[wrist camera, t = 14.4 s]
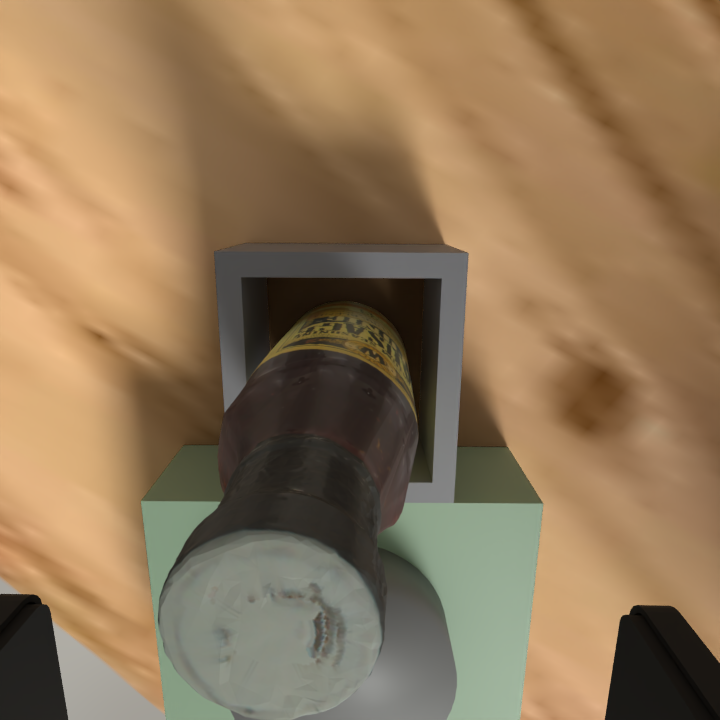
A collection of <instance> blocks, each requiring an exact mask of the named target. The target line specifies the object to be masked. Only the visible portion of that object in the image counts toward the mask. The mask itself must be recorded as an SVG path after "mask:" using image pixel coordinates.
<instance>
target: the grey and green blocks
mask: <svg viewBox="0 0 720 720" xmlns="http://www.w3.org/2000/svg"><path fill="white" fill-rule="evenodd" d="M214 258H215V274H216V289H217V304H218V320H219V335H220V351H221V366H222V381H223V397H224V412H226V410H227V409H228V408H229V406H230V405H231V404H232V403H233V401H234V400H235V399H236V397H237V396H238V395H239V393H240V392H241V391H242V389H243V388H244V387H245V385H246V383H247V381H248V380H249V378H250V377H251V375H252V374H253V372H254V371H255V370H256V368H257V367H258V366H259V365H260V363H261V362H262V361H263V360H264V358H265V357H266V356H267V355H268V354H269V352H270V340H269V315H268V290H267V277H288V278H424V293H423V320H422V347H421V374H420V400H419V427H418V433H419V435H418V444H417V448H416V452H415V457H414V462H413V466H412V471H411V475H410V480H409V484H408V489H407V494H406V498H405V503H404V507H403V511H402V513H401V515H400V517H399V519H398V520H397V522H396V523H395V524H394V525H393V526H391V527H389V528H387V529H385V530H384V531H383V532H381V533H380V534H379V535H378V536H377V540H378V542H377V547H378V553H379V555H380V557H381V560H382V562H383V565H384V571H385V579H386V584H387V604H386V614H385V632H384V642H383V645H382V649H381V652H380V655H379V657H378V659H377V661H376V663H375V665H374V667H373V670H372V673H371V675H370V676H369V677H368V678H367V679H366V681H365V682H364V683H363V684H362V685H361V686H360V687H359V688H358V689H357V691H356V692H354V693H353V694H352V695H351V696H350V697H349V698H347V699H346V700H345V701H343V702H342V703H340V704H339V705H337V706H336V707H334V708H332V709H329V710H327V711H324V712H321V713H317V714H313V715H304V716H301V717H298V718H295V719H292V720H520V714H521V705H522V696H523V686H524V677H525V668H526V659H527V649H528V640H529V631H530V622H531V612H532V603H533V594H534V585H535V575H536V566H537V557H538V548H539V538H540V529H541V520H542V511H543V502H542V501H541V499H540V498H539V496H538V494H537V493H536V491H535V490H534V488H533V487H532V485H531V483H530V482H529V480H528V479H527V477H526V475H525V474H524V472H523V471H522V469H521V467H520V466H519V464H518V463H517V461H516V459H515V458H514V456H513V455H512V453H511V451H510V450H509V448H508V447H457V441H458V424H459V407H460V390H461V373H462V355H463V338H464V321H465V304H466V287H467V270H468V253H467V252H464V251H462V250H459V249H456V248H454V247H451V246H448V245H446V244H310V243H244V244H240V245H237V246H233V247H229V248H225V249H222V250H218V251H214ZM218 446H219V445H183V447H182V448H181V449H180V451H179V452H178V453H177V455H176V456H175V457H174V458H173V460H172V461H171V462H170V464H169V465H168V466H167V468H166V469H165V470H164V472H163V473H162V474H161V476H160V477H159V478H158V479H157V481H156V482H155V483H154V485H153V486H152V487H151V489H150V490H149V491H148V493H147V494H146V495H145V497H144V498H143V499H142V500H141V506H142V515H143V524H144V532H145V541H146V550H147V559H148V567H149V576H150V585H151V594H152V602H153V611H154V620H155V629H156V637H157V646H158V655H159V664H160V672H161V681H162V690H163V698H164V707H165V716H166V720H260V719H255V718H249V717H244V716H242V715H240V714H239V713H237V712H234V711H232V710H229V709H227V708H224V707H222V706H220V705H218V704H216V703H214V702H211V701H209V700H207V699H205V698H203V697H202V696H201V695H200V694H198V693H197V692H196V691H195V690H194V689H193V688H192V687H191V686H190V685H189V684H188V683H187V682H186V681H185V680H184V679H183V678H182V677H181V676H180V675H179V674H178V673H177V672H176V670H175V669H174V667H173V664H172V662H171V661H170V660H169V658H168V657H167V656H166V654H165V652H164V647H163V640H162V638H161V635H160V632H159V627H158V607H159V598H160V594H161V591H162V588H163V585H164V582H165V580H166V578H167V576H168V573H169V571H170V570H171V568H172V567H173V565H174V563H175V561H176V558H177V557H178V555H179V553H180V552H181V550H182V548H183V546H184V544H185V542H186V540H187V539H188V537H189V536H190V535H191V533H192V532H193V530H194V529H195V528H196V527H197V526H198V525H199V524H200V523H201V522H202V521H203V520H204V519H205V518H206V517H207V516H209V515H210V514H211V513H213V512H214V511H215V510H216V509H217V508H218V505H219V504H220V502H221V500H222V499H223V497H224V493H223V491H222V487H221V483H220V477H219V470H218V458H217V455H218Z"/></svg>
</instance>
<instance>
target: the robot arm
mask: <svg viewBox="0 0 720 720" xmlns="http://www.w3.org/2000/svg"><path fill="white" fill-rule="evenodd" d="M0 720H68V715H67V709H66V703H65V697H64V691H63V685H62V679H61V673H60V667H59V661H58V655H57V649H56V642H55V636H54V631H53V624H52V618H51V612H50V609H49V607H48V606H47V605H44V604H42V602H41V599H40V598H39V597H38V596H37V595H29V594H0ZM605 720H720V663H719V662H718V661H717V659H716V658H715V657H714V656H713V654H712V653H711V652H710V650H709V649H708V648H707V647H706V645H705V644H704V643H703V642H702V640H701V639H700V638H699V637H698V635H697V634H696V633H695V631H694V630H693V629H692V628H691V626H690V625H689V624H688V623H687V621H686V620H685V619H684V617H683V616H682V615H681V614H680V612H679V611H678V610H677V609H675V608H674V607H672V606H647V605H636V606H633V608H632V609H631V611H630V615H623V616H622V617H621V620H620V624H619V631H618V637H617V644H616V650H615V657H614V663H613V670H612V677H611V683H610V690H609V696H608V703H607V709H606V716H605Z"/></svg>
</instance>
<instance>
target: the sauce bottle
mask: <svg viewBox="0 0 720 720" xmlns="http://www.w3.org/2000/svg"><path fill="white" fill-rule="evenodd" d="M418 435H419V433H418V424H417V415H416V408H415V402H414V395H413V391H412V381H411V376H410V373H409V367H408V361H407V353H406V349H405V346H404V344H403V341H402V338H401V336H400V335H399V333H398V331H397V330H396V328H395V327H394V326H393V324H392V323H391V322H390V321H389V320H388V319H387V318H386V317H384V316H383V315H382V314H381V313H380V312H379V311H377V310H376V309H374V308H371V307H369V306H366V305H364V304H360V303H356V302H352V301H332V302H329V303H325V304H323V305H320V306H317V307H315V308H313V309H311V310H310V311H308V312H307V313H305V314H304V315H303V316H302V317H301V318H300V319H299V320H298V321H297V322H296V323H295V324H294V325H293V326H292V328H291V329H290V330H289V331H288V332H287V333H286V334H285V335H284V336H283V338H282V339H281V340H280V341H279V342H278V343H277V344H276V345H275V347H274V348H273V349H272V350H271V351H270V352H269V354H268V355H267V356H266V357H265V358H264V360H263V361H262V362H261V363H260V365H259V366H258V367H257V368H256V370H255V371H254V372H253V374H252V375H251V377H250V378H249V380H248V381H247V383H246V385H245V387H244V388H243V389H242V391H241V392H240V393H239V395H238V396H237V397H236V399H235V400H234V401H233V403H232V404H231V405H230V406H229V408H228V409H227V410H226V412H225V413H224V416H223V422H222V427H221V433H220V438H219V446H218V455H217V458H218V470H219V477H220V483H221V487H222V491H223V493H224V497H223V499H222V500H221V502H220V504H219V505H218V508H217V509H216V510H215V511H214V512H213V513H211V514H210V515H209V516H207V517H206V518H205V519H204V520H203V521H202V522H201V523H200V524H199V525H198V526H197V527H196V528H195V529H194V530H193V532H192V533H191V535H190V536H189V537H188V539H187V540H186V542H185V544H184V546H183V548H182V550H181V552H180V553H179V555H178V557H177V558H176V561H175V563H174V565H173V567H172V568H171V570H170V571H169V573H168V576H167V578H166V580H165V582H164V585H163V588H162V591H161V594H160V598H159V607H158V627H159V632H160V635H161V638H162V640H163V647H164V652H165V654H166V656H167V657H168V658H169V660H170V661H171V662H172V664H173V667H174V669H175V670H176V672H177V673H178V674H179V675H180V676H181V677H182V678H183V679H184V680H185V681H186V682H187V683H188V684H189V685H190V686H191V687H192V688H193V689H194V690H195V691H196V692H197V693H198V694H200V695H201V696H202V697H203V698H205V699H207V700H209V701H211V702H214V703H216V704H218V705H220V706H222V707H224V708H227V709H229V710H232V711H234V712H237V713H239V714H240V715H242V716H244V717H249V718H255V719H260V720H292V719H295V718H298V717H301V716H304V715H313V714H317V713H321V712H324V711H327V710H329V709H332V708H334V707H336V706H337V705H339V704H340V703H342V702H343V701H345V700H346V699H347V698H349V697H350V696H351V695H352V694H353V693H354V692H356V691H357V689H358V688H359V687H360V686H361V685H362V684H363V683H364V682H365V681H366V679H367V678H368V677H369V676H370V675H371V673H372V670H373V667H374V665H375V663H376V661H377V659H378V657H379V655H380V652H381V649H382V645H383V642H384V632H385V614H386V604H387V584H386V579H385V571H384V565H383V562H382V560H381V557H380V555H379V553H378V547H377V542H378V540H377V536H378V535H379V534H380V533H381V532H383V531H384V530H385V529H387V528H389V527H391V526H393V525H394V524H395V523H396V522H397V520H398V519H399V517H400V515H401V513H402V511H403V507H404V503H405V498H406V494H407V489H408V484H409V480H410V475H411V471H412V466H413V462H414V457H415V452H416V448H417V444H418Z"/></svg>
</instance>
